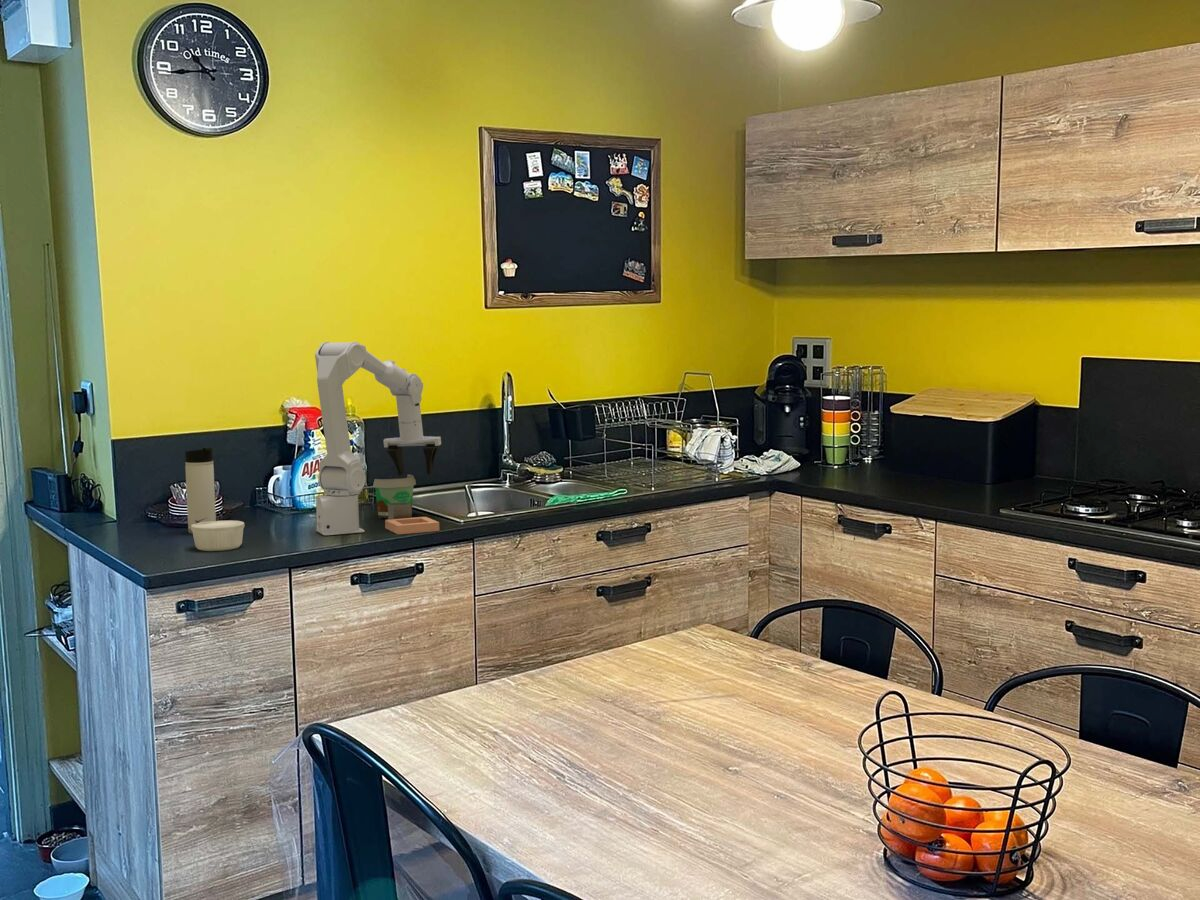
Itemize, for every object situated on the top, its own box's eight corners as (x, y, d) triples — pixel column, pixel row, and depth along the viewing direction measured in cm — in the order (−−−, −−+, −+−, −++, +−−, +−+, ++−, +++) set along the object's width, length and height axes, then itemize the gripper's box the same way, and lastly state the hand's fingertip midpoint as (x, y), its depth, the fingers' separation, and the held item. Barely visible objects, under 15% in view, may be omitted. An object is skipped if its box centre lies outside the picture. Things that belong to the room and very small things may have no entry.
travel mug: (201, 535, 275) (197, 449, 273) (182, 532, 278) (178, 447, 276) (223, 531, 280) (219, 446, 278) (204, 529, 283) (200, 445, 281)
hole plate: (397, 534, 272) (397, 525, 272) (385, 528, 281) (385, 520, 281) (439, 530, 277) (439, 522, 277) (425, 524, 286) (425, 516, 286)
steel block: (393, 526, 284) (393, 505, 284) (388, 523, 289) (387, 503, 288) (411, 525, 287) (411, 504, 286) (406, 522, 291) (405, 502, 290)
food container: (391, 521, 292) (389, 480, 291) (374, 519, 296) (372, 479, 295) (427, 514, 302) (426, 475, 301) (410, 512, 306) (409, 474, 305)
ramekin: (212, 542, 266) (211, 519, 265) (255, 544, 262) (254, 520, 262) (180, 551, 255) (179, 526, 254) (225, 553, 252) (224, 528, 251)
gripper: (442, 417, 300) (447, 469, 303) (388, 419, 303) (393, 471, 305) (433, 422, 293) (439, 475, 296) (378, 424, 296) (384, 477, 299)
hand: (415, 473), depth 300 cm, fingers open, 7 cm apart
